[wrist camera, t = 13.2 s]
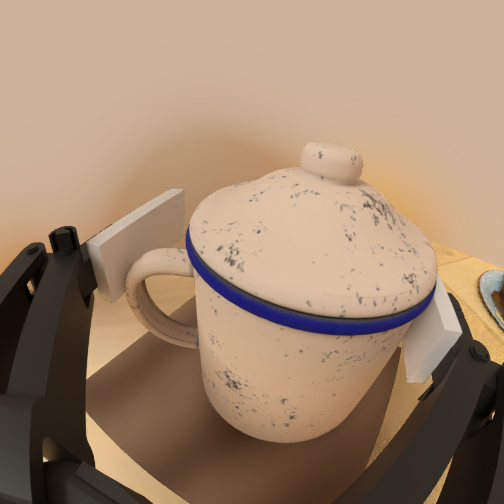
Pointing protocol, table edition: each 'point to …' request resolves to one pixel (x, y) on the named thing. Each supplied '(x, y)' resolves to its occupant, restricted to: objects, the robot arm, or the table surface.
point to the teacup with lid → (293, 293)
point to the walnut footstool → (223, 431)
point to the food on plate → (493, 292)
